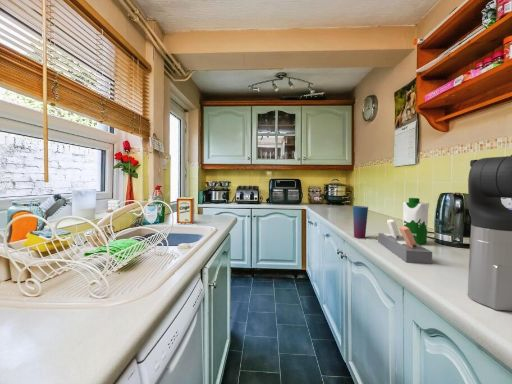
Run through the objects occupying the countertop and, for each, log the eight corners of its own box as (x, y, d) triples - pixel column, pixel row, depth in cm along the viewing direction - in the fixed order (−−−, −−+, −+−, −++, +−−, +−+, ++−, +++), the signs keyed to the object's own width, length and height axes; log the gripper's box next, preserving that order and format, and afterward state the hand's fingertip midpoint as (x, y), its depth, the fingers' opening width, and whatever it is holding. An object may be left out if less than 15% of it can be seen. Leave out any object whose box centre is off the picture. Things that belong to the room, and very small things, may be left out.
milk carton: (399, 241, 113) (400, 197, 112) (408, 239, 118) (410, 197, 117) (420, 246, 106) (422, 199, 105) (429, 243, 111) (431, 198, 110)
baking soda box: (194, 221, 161) (194, 197, 160) (192, 223, 154) (192, 197, 154) (179, 222, 160) (179, 197, 159) (176, 223, 154) (176, 197, 153)
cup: (368, 239, 117) (369, 207, 116) (353, 238, 118) (354, 207, 118) (365, 236, 124) (366, 206, 123) (350, 235, 125) (351, 205, 124)
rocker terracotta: (417, 246, 86) (409, 228, 86) (412, 248, 87) (403, 230, 87) (411, 243, 91) (403, 225, 91) (407, 245, 91) (398, 227, 91)
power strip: (431, 263, 83) (432, 251, 83) (405, 262, 84) (406, 249, 84) (390, 238, 118) (391, 229, 118) (373, 238, 119) (373, 229, 119)
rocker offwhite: (400, 237, 100) (394, 220, 100) (396, 238, 100) (390, 222, 100) (396, 235, 104) (390, 219, 104) (391, 236, 105) (386, 220, 105)
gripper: (513, 154, 84) (457, 153, 85) (556, 149, 71) (490, 148, 72) (511, 176, 84) (456, 175, 86) (554, 175, 71) (488, 174, 73)
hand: (472, 163), depth 79 cm, fingers closed
